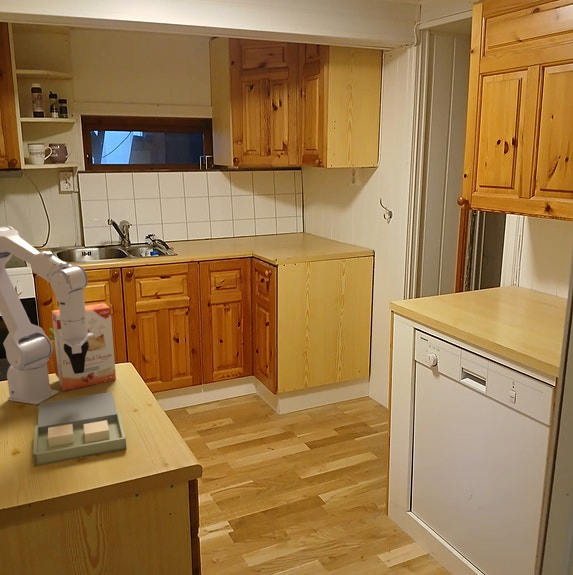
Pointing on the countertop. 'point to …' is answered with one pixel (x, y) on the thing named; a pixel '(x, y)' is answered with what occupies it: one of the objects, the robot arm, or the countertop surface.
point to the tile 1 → (60, 435)
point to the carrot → (53, 354)
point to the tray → (78, 445)
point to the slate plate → (77, 411)
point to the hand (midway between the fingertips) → (79, 372)
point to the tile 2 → (96, 431)
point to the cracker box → (98, 354)
